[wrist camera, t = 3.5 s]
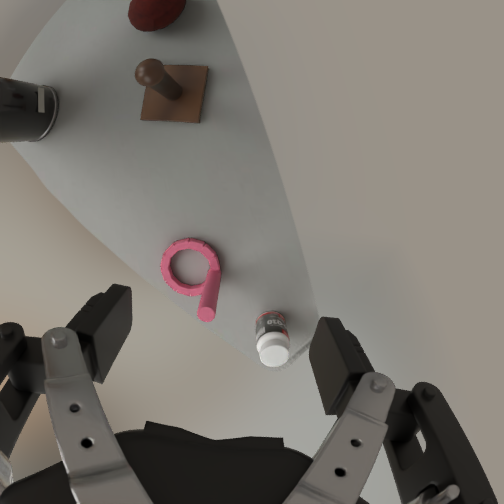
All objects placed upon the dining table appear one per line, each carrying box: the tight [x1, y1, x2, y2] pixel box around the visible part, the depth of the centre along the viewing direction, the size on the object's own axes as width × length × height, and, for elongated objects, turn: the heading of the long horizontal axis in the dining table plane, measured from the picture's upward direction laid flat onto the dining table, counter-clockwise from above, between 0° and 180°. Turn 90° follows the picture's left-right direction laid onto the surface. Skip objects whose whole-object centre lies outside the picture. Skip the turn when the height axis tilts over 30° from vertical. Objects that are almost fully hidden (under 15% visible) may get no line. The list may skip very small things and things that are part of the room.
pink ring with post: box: [160, 238, 221, 322], centre depth 35 cm, size 9×8×11 cm
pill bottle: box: [255, 311, 290, 367], centre depth 40 cm, size 5×5×8 cm
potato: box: [128, 0, 186, 32], centre depth 24 cm, size 7×8×7 cm
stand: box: [135, 59, 209, 123], centre depth 26 cm, size 8×8×12 cm
